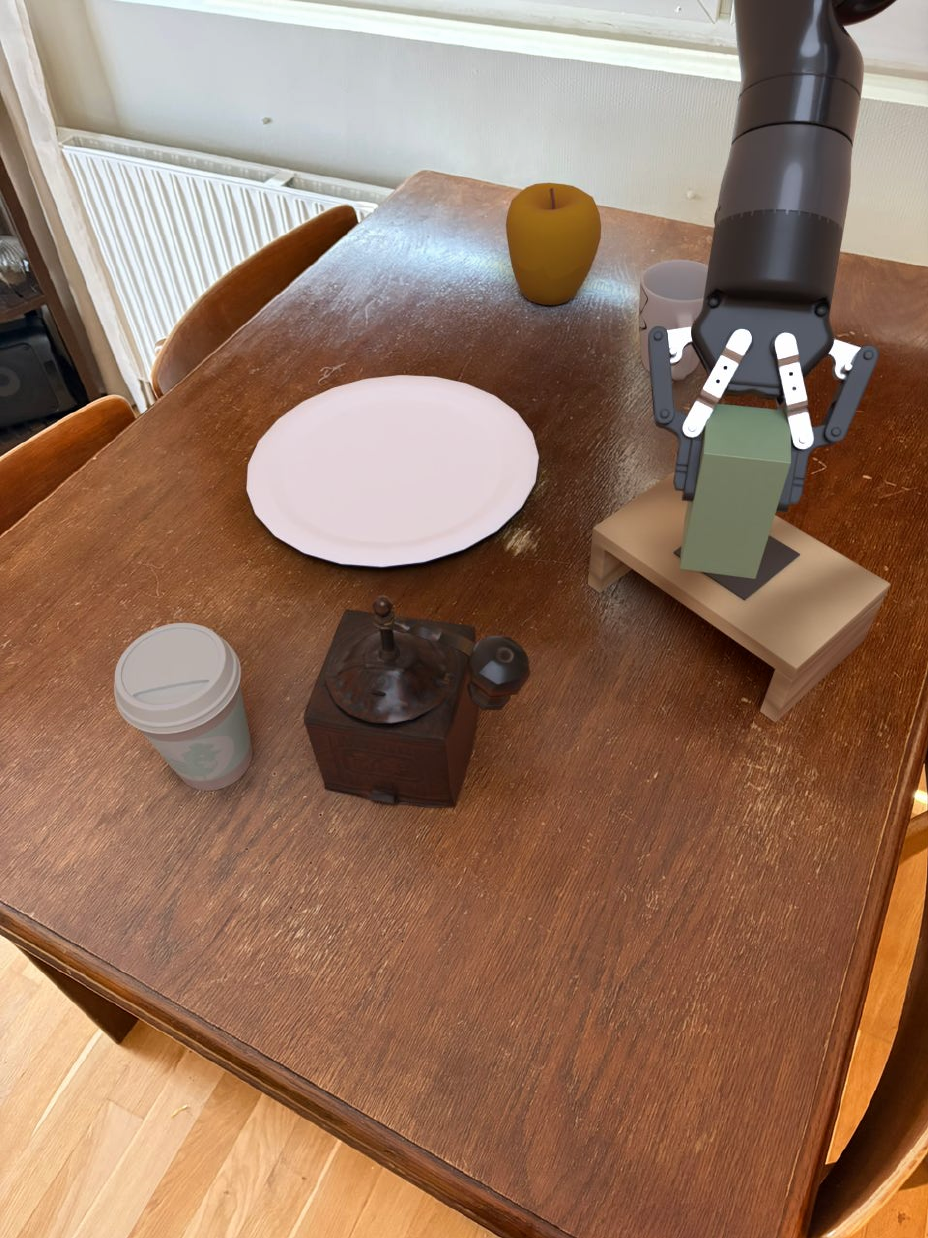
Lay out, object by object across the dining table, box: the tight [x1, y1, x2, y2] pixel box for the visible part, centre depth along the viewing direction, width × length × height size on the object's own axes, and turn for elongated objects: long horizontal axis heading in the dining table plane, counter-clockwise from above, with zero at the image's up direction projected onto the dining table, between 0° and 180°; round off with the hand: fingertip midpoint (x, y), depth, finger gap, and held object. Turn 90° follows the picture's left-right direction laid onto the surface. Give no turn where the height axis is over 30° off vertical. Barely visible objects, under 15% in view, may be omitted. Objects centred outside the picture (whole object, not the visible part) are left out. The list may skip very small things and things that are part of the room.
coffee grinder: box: [302, 595, 531, 808], centre depth 62 cm, size 16×11×18 cm
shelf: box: [587, 470, 891, 723], centre depth 74 cm, size 20×12×7 cm, turn 41°
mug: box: [638, 259, 709, 381], centre depth 96 cm, size 11×8×10 cm
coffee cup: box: [113, 622, 254, 792], centre depth 65 cm, size 8×9×12 cm
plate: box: [246, 374, 540, 569], centre depth 90 cm, size 29×29×2 cm
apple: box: [505, 182, 602, 306], centre depth 106 cm, size 11×11×13 cm
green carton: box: [679, 403, 791, 579], centre depth 58 cm, size 5×5×10 cm
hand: (733, 504), depth 56 cm, fingers closed on green carton, 5 cm apart
